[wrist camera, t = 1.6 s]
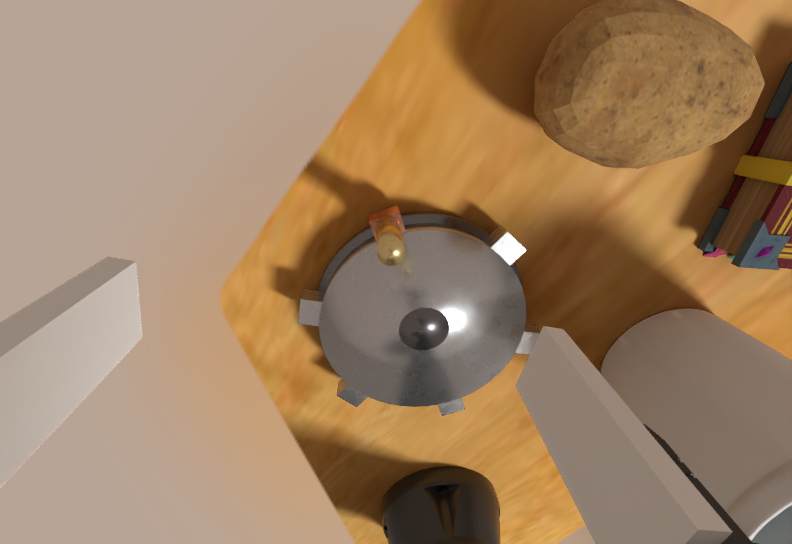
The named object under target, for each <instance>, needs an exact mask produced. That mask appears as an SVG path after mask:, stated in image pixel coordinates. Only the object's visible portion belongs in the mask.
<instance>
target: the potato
mask: <svg viewBox="0 0 792 544" xmlns="http://www.w3.org/2000/svg"><path fill="white" fill-rule="evenodd" d="M764 85H765V81H764V79H763V76H762V73H761V71H760V68H759V65H758V63H757V60H756V57H755V54H754V52H753V49H752V48H751V47H750V46H749V45H748V44H747V43H746V42H745V41H743V40H742V39H741V38H740V37H739V36H738V35H736V34H735V33H734V32H733V31H732V30H731V29H729V28H728V27H726V26H724V25H723V24H721V23H719V22H718V21H716V20H715V19H713V18H711V17H710V16H708V15H706V14H704V13H702V12H700V11H698V10H696V9H694V8H692V7H690V6H688V5H686V4H684V3H682V2H680V1H677V0H603V1H601V2H598V3H595V4H593V5H590V6H588V7H585V8H583V9H582V10H581V11H580V12H579V13H578V14H577V15H576V16H575V17H574V18H573V19H572V20H571V21H570V22H569V23H568V24H567V25H565V26H564V27H563V28H562V29H561V30H560V31H559V32H558V33H557V34H556V35H555V36H554V38H553V39H552V41H551V42H550V44H549V46H548V48H547V51H546V54H545V57H544V59H543V61H542V63H541V65H540V67H539V69H538V71H537V73H536V75H535V92H534V114H535V116H536V117H537V119H538V121H539V123H540V124H541V126H542V128H543V130H544V132H545V133H546V135H547V136H548V137H549V138H551V139H552V140H554V141H555V142H556V143H558V144H559V145H560V146H562V147H563V148H564V149H566V150H568V151H570V152H572V153H575V154H577V155H579V156H581V157H583V158H586V159H588V160H590V161H592V162H595V163H597V164H599V165H602V166H605V167H612V168H642V167H645V166H649V165H653V164H656V163H660V162H663V161H667V160H670V159H674V158H677V157H681V156H684V155H688V154H691V153H694V152H696V151H699V150H701V149H703V148H706V147H708V146H710V145H712V144H715V143H717V142H719V141H721V140H723V139H725V138H726V137H727V136H729V135H730V134H731V133H732V132H733V131H735V130H736V129H737V128H738V127H739V126H741V125H742V124H743V123H744V122H745V121H746V120H748V119H749V118H750V117H751V115H752V112H753V110H754V108H755V105H756V103H757V101H758V99H759V96H760V94H761V92H762V90H763V87H764Z"/></svg>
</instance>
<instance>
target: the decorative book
mask: <svg viewBox="0 0 792 544" xmlns="http://www.w3.org/2000/svg"><path fill="white" fill-rule="evenodd" d="M765 117H767V120H766V122H765V124H764V126H763V128H762V130H761V132H760V134H759V136H758V138H757V140H756V142H755V144H754V146H753V147H752V149H751V151H750V153H749V155H742V157H741V159H740V161H739V163H738V165H737V167H736V169H735V171H734V173H733V174H735V175H738V177H737V179H736V181H735V183H734V185H733V187H732V189H731V191H730V193H729V195H728V197H727V199H726V201H725V203H724V205H723V207H722V208H718V210H717V212H716V214H715V216H714V218H713V219H712V221H711V223H710V225H709V227H708V229H707V231H706V233H705V235H704V237H703V239H702V241H701V243H700V245H699V247H698V248H699V249H701V250H703V251H709V252H712V253H708V254H705V255H704V256H707V257H717V256H719V255H722V254H726V253H731V254H733V255H735V256H731V257H726V258H734V259H733V261H732V263H731V264H733V265H736V266H738V267H746V268H759V269H772V270H779V268H788V269H792V62H791V64H790V66H789V68H788V70H787V72H786V74H785V76H784V78H783V80H782V82H781V84H780V86H779V88H778V90H777V92H776V94H775V96H774V98H773V100H772V102H771V104H770V106H769V108H768V110H767V113H766V115H765Z"/></svg>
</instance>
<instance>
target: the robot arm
mask: <svg viewBox="0 0 792 544" xmlns="http://www.w3.org/2000/svg"><path fill="white" fill-rule="evenodd" d="M137 279H138V278H137V267H136V261H131V260H125V259H118V258H111V257H106V258H105V259H103V260H101V261H100V262H99V263H97V264H95V265H93V266H92V267H90V268H89V269H87V270H85V271H84V272H82V273H80V274H79V275H77V276H75V277H74V278H72V279H70V280H69V281H67V282H66V283H64V284H62V285H61V286H59V287H57V288H56V289H54V290H53V291H51V292H49V293H48V294H46V295H44V296H43V297H41V298H39V299H38V300H36V301H34V302H33V303H31V304H30V305H28V306H26V307H25V308H23V309H21V310H20V311H18V312H17V313H15V314H13V315H12V316H10V317H9V318H7V319H5V320H3V321H2V322H0V489H1V488H2V486H3V485H4V484H5V483H6V482H7V481H8V480H9V479H10V478H11V477H12V476H13V475H14V474H15V472H16V471H17V470H18V469H19V468H20V467H21V466H22V465H23V464H24V463H25V462H26V461H27V460H28V459H29V458H30V457H31V455H33V453H34V452H35V451H36V450H37V449H38V448H39V447H40V446H41V445H42V444H43V443H44V442H45V441H46V440H47V439H48V437H49V436H50V435H51V434H52V433H53V432H54V431H55V430H56V429H57V428H58V427H59V426H60V425H61V424H62V423H63V422H64V420H65V419H66V418H67V417H68V416H69V415H70V414H71V413H72V412H73V411H74V410H75V409H76V408H77V407H78V406H79V405H80V404H81V402H82V401H83V400H84V399H85V398H86V397H87V396H88V395H89V394H90V393H91V392H92V391H93V390H94V389H95V388H96V387H97V385H98V384H99V383H100V382H101V381H102V380H103V379H104V378H105V377H106V376H107V375H108V374H109V373H110V372H111V370H112V369H113V368H114V367H115V366H116V365H117V364H118V363H119V362H120V361H121V360H122V359H123V358H124V357H125V356H126V355H127V354H128V352H129V351H130V350H131V349H132V348H133V347H134V346H135V345H136V344H137V343H138V342H139V341H140V340H141V339H142V338H143V335H142V325H141V313H140V302H139V291H138V280H137ZM516 387H517V389H518V391H519V393H520V395H521V397H522V399H523V401H524V403H525V405H526V407H527V409H528V411H529V413H530V415H531V417H532V419H533V421H534V423H535V425H536V427H537V429H538V431H539V433H540V435H541V437H542V439H543V441H544V443H545V445H546V447H547V449H548V451H549V453H550V454H551V456H552V458H553V460H554V462H555V464H556V466H557V468H558V470H559V472H560V474H561V476H562V478H563V480H564V482H565V484H566V486H567V488H568V490H569V492H570V494H571V496H572V498H573V500H574V502H575V504H576V506H577V508H578V510H579V512H580V514H581V516H582V518H583V520H584V522H585V524H586V526H587V528H588V530H589V532H590V533H591V535H592V537H593V539H594V541H595V543H596V544H759V543H753V542H752V541H751V540H750V539H749V538H748V537H747V536H746V534H745V533H744V532H743V531H742V530H741V529H740V527H739V526H738V525H737V524H736V523H735V522H734V521H733V519H732V518H731V517H730V516H729V515H728V514H727V512H726V511H725V510H724V509H723V508H722V507H721V505H720V504H719V503H718V502H717V501H716V500H715V498H714V497H713V496H712V495H711V494H710V493H709V491H708V490H707V489H706V488H705V487H704V486H703V484H702V483H701V482H700V481H699V480H698V479H697V478H694V476H693V473H692V472H691V470H690V469H689V468H688V467H687V466H686V465H685V463H684V462H681V461H680V458H679V456H678V455H677V454H676V453H675V452H674V451H673V450H672V448H671V447H670V446H669V445H668V444H667V443H666V441H665V440H664V439H662V438H661V437H660V436H659V435H658V434H656V433H655V432H654V431H653V430H651V429H650V428H649V427H648V426H647V425H645V424H642V423H641V422H640V420H639V419H638V418H637V417H636V416H635V414H634V413H633V412H632V411H631V410H630V408H629V407H628V406H627V405H626V404H625V402H624V401H623V400H622V399H621V398H620V396H619V395H618V394H617V393H616V392H615V390H614V389H613V388H612V387H611V386H610V384H609V383H608V382H607V381H606V380H605V378H604V377H603V376H602V375H601V374H600V372H599V371H598V370H597V369H596V368H595V366H594V365H593V364H592V363H591V362H590V360H589V359H588V358H587V357H586V356H585V354H584V353H583V352H582V351H581V350H580V348H579V347H578V346H577V345H576V344H575V342H574V341H573V340H572V339H571V338H570V336H569V335H568V334H567V333H566V332H565V330H564V329H560V328H554V327H547V326H543V328H542V330H541V332H540V334H539V336H538V339H537V341H536V343H535V345H534V347H533V349H532V352H531V354H530V356H529V358H528V360H527V362H526V364H525V367H524V369H523V371H522V373H521V375H520V377H519V379H518V382H517V384H516ZM381 515H382V527H383V530H384V533H385V536H386V538H387V539H388V543H389V544H500V521H499V517H500V506H499V501H498V498H497V495H496V492H495V489H494V487H493V485H492V484H491V482H490V481H489V480H488V479H487V478H486V477H484V476H483V475H481V474H479V473H478V472H475V471H473V470H470V469H466V468H461V467H451V466H445V467H434V468H428V469H424V470H421V471H418V472H415V473H412V474H410V475H408V476H406V477H404V478H403V479H401V480H399V481H398V482H397V483H395V484H394V485H393V486H392V487H391V488H390V489H389V490H388V492H387V493H386V495H385V496H384V498H383V501H382V506H381Z"/></svg>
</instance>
